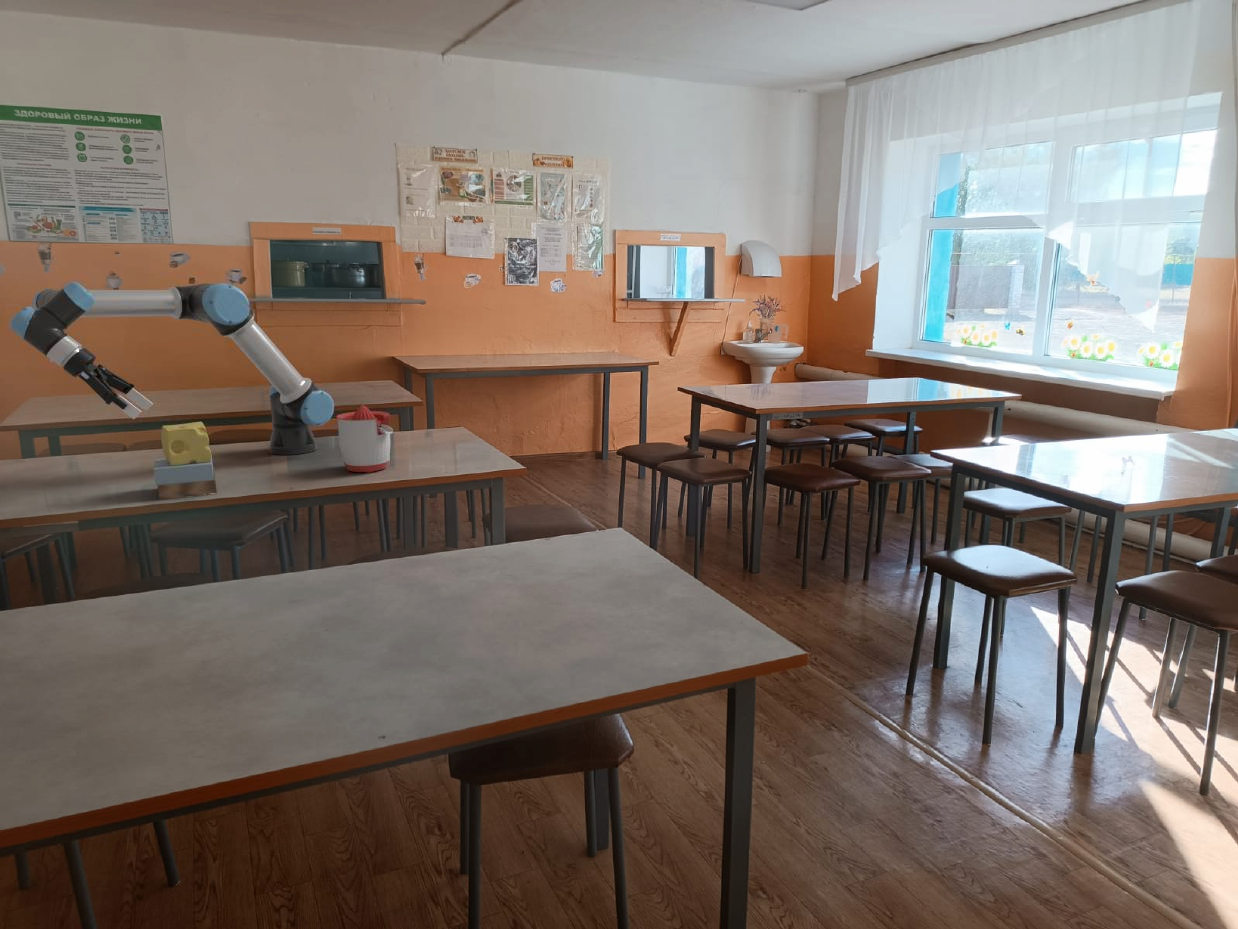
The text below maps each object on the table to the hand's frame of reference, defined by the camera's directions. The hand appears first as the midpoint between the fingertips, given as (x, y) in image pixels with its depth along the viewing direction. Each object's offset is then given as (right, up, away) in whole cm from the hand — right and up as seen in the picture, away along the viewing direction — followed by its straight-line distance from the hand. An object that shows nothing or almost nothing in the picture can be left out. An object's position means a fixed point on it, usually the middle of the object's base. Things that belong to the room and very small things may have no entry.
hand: (144, 411), depth 229 cm
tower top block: (+8, -18, +6) cm, 21 cm away
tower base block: (+8, -22, +7) cm, 25 cm away
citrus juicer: (+51, -16, +33) cm, 63 cm away
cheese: (+9, -14, +6) cm, 17 cm away
